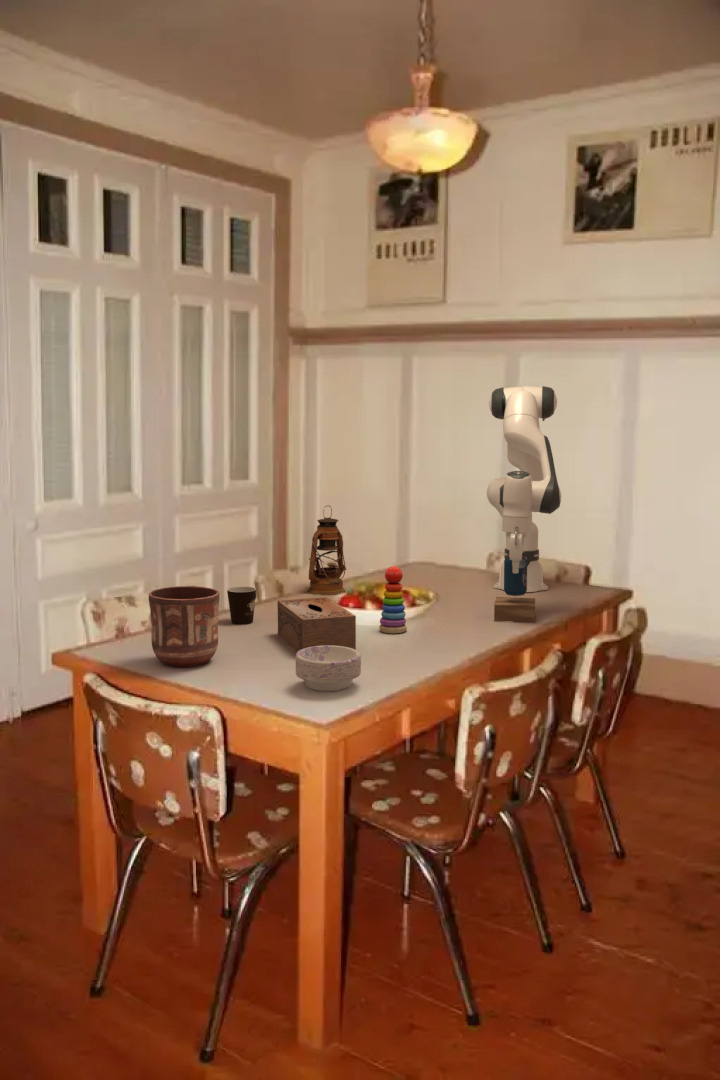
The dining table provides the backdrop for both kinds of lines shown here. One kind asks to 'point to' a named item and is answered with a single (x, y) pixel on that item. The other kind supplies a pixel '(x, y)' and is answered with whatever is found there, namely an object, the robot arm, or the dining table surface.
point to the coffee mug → (241, 604)
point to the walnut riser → (514, 609)
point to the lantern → (328, 537)
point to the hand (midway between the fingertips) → (515, 570)
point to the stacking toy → (393, 603)
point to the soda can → (515, 577)
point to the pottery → (184, 625)
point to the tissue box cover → (315, 623)
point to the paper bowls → (328, 667)
